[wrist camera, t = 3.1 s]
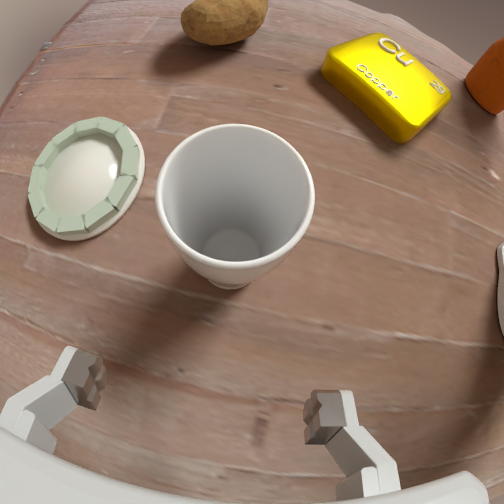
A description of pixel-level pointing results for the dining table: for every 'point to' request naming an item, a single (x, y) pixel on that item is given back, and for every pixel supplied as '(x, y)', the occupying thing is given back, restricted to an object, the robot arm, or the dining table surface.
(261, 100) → the dining table surface
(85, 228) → the green rimmed plate
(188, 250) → the drinking glass
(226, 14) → the potato
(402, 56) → the element tile
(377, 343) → the dining table surface
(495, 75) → the wine bottle
